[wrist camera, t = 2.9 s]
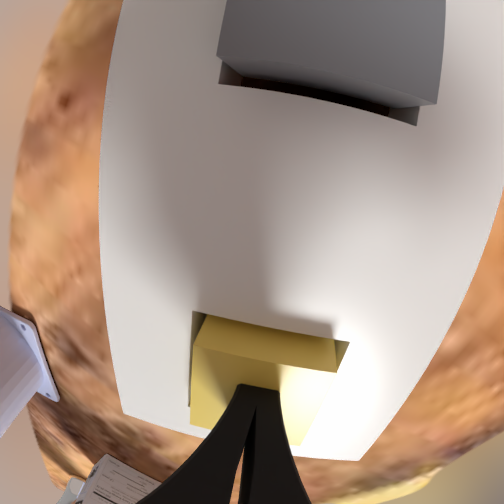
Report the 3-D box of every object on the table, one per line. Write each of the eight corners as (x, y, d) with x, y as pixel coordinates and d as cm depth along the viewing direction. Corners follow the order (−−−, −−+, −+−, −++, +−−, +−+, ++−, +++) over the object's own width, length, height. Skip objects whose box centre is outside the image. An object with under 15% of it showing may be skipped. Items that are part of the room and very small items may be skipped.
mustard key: (207, 374, 14) (189, 424, 11) (216, 294, 12) (193, 345, 9) (302, 393, 13) (300, 446, 10) (331, 317, 11) (337, 373, 9)
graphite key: (242, 76, 8) (215, 55, 5) (266, -45, 6) (251, -97, 3) (394, 109, 8) (436, 104, 5) (408, -14, 6) (443, -55, 3)
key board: (145, 374, 16) (123, 413, 13) (187, -69, 7) (161, -104, 4) (354, 417, 15) (358, 460, 12) (478, -10, 6) (514, -31, 3)
